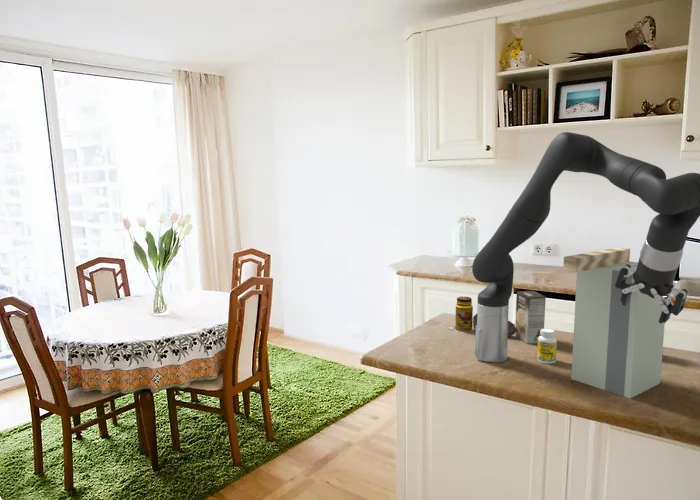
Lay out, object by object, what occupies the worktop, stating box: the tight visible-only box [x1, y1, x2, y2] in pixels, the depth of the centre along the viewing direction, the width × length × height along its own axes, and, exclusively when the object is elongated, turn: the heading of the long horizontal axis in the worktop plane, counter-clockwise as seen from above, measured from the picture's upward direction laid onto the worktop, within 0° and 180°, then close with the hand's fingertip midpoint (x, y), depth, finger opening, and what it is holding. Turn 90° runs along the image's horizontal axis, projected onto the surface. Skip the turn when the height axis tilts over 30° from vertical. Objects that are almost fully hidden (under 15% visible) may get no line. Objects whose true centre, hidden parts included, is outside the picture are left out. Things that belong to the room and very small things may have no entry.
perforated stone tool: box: [472, 313, 516, 337], centre depth 184 cm, size 15×5×7 cm, turn 54°
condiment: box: [447, 296, 476, 334], centre depth 191 cm, size 7×8×12 cm
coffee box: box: [514, 290, 547, 345], centre depth 178 cm, size 9×6×16 cm
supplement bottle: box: [536, 328, 558, 365], centre depth 158 cm, size 5×5×10 cm
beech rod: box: [562, 247, 631, 273], centre depth 138 cm, size 26×4×4 cm, turn 125°
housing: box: [571, 260, 666, 399], centre depth 140 cm, size 16×16×32 cm
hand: (643, 312), depth 122 cm, fingers open, 8 cm apart
